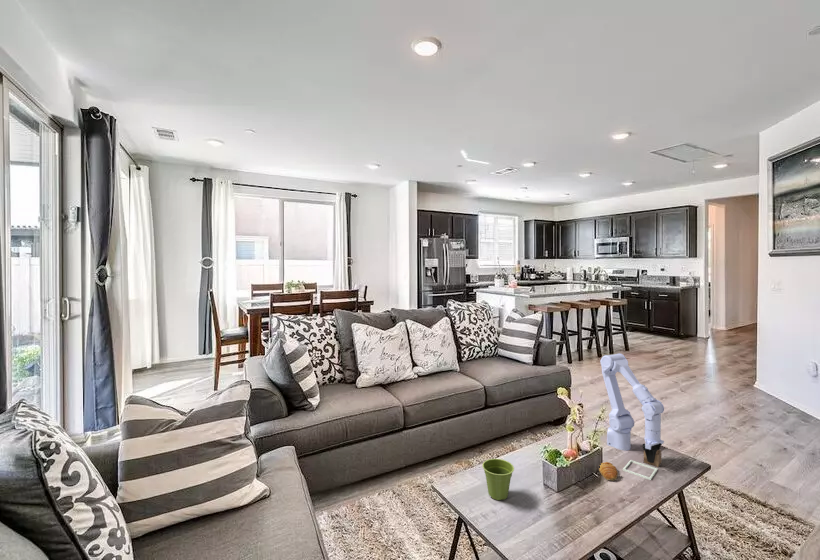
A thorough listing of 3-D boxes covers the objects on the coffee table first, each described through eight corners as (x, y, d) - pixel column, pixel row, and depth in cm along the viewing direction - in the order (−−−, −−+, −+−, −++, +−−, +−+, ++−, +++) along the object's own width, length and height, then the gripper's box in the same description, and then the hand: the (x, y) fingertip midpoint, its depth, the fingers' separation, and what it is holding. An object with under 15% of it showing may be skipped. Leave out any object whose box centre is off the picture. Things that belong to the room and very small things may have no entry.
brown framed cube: (643, 462, 165) (643, 451, 164) (647, 457, 168) (647, 446, 168) (658, 466, 161) (658, 455, 160) (661, 462, 164) (661, 450, 164)
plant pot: (515, 506, 139) (515, 476, 138) (482, 502, 141) (482, 473, 141) (513, 487, 151) (513, 459, 150) (482, 484, 153) (482, 457, 152)
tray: (622, 472, 159) (622, 469, 159) (630, 463, 166) (630, 459, 166) (650, 482, 151) (650, 478, 151) (657, 472, 159) (657, 468, 158)
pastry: (620, 483, 152) (620, 474, 152) (602, 481, 154) (602, 472, 154) (615, 470, 161) (615, 462, 161) (597, 468, 163) (597, 460, 163)
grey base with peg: (642, 464, 165) (642, 453, 164) (646, 459, 169) (646, 448, 169) (658, 469, 160) (658, 458, 160) (662, 464, 164) (662, 453, 164)
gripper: (659, 437, 156) (658, 469, 157) (667, 426, 166) (667, 456, 167) (639, 432, 161) (639, 463, 162) (649, 421, 171) (649, 451, 172)
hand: (652, 459), depth 164 cm, fingers closed on brown framed cube, 5 cm apart
